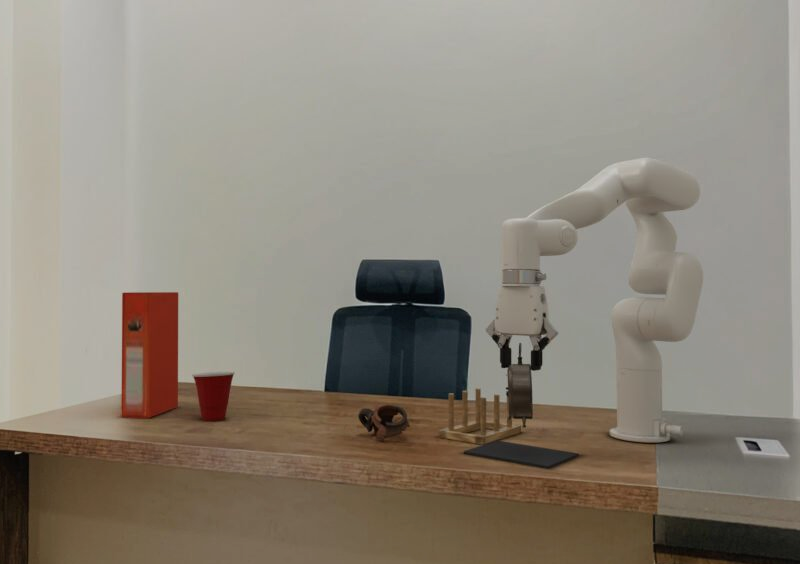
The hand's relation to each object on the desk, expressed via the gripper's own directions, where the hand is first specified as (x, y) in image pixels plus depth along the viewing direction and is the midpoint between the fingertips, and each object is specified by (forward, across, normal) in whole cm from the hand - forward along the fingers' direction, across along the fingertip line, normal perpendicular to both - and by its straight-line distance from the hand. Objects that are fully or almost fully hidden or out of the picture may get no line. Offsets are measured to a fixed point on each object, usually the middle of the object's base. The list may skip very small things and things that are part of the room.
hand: (520, 367), depth 144 cm
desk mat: (+17, 0, 0) cm, 17 cm away
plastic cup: (+18, +76, +17) cm, 80 cm away
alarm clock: (+11, 0, 0) cm, 11 cm away
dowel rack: (+17, +16, -12) cm, 27 cm away
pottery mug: (+18, +31, +5) cm, 36 cm away
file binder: (+18, +96, +22) cm, 100 cm away
